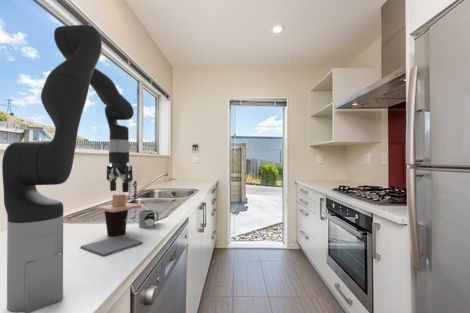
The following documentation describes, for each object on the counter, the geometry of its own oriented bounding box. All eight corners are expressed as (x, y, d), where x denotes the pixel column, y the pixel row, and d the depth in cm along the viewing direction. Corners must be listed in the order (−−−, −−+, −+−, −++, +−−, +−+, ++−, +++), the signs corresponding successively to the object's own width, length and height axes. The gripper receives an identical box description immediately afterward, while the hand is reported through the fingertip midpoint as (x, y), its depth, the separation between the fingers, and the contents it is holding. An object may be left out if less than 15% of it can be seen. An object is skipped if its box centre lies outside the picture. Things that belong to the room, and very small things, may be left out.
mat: (142, 243, 88) (142, 241, 88) (103, 256, 77) (103, 254, 77) (119, 237, 96) (119, 235, 96) (80, 247, 84) (80, 246, 84)
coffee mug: (119, 238, 95) (119, 211, 95) (99, 236, 96) (99, 210, 97) (137, 229, 106) (137, 206, 106) (119, 228, 108) (118, 205, 108)
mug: (145, 228, 108) (145, 213, 108) (135, 226, 111) (135, 211, 111) (163, 223, 116) (163, 209, 116) (153, 221, 120) (153, 207, 120)
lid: (141, 207, 103) (141, 193, 103) (113, 212, 93) (113, 197, 93) (123, 204, 110) (123, 192, 110) (96, 209, 100) (96, 195, 100)
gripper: (100, 151, 103) (100, 191, 102) (120, 150, 95) (120, 193, 95) (117, 152, 109) (117, 189, 109) (138, 151, 101) (138, 191, 101)
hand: (119, 191), depth 102 cm, fingers open, 8 cm apart
